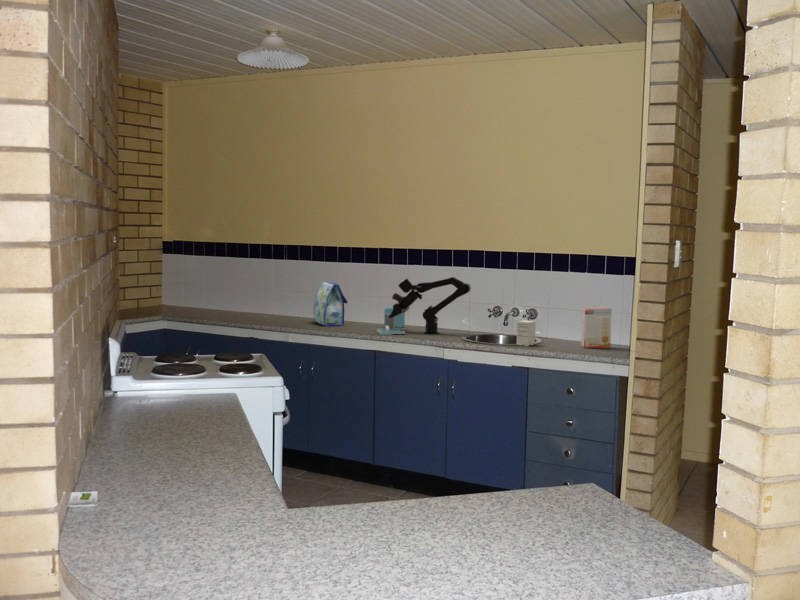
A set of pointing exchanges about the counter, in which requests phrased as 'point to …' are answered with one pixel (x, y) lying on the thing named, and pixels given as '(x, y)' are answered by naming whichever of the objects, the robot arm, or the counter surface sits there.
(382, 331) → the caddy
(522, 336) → the white drawer cabinet
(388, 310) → the teal arch frame
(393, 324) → the drive cartridge
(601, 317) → the cracker box
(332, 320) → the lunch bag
